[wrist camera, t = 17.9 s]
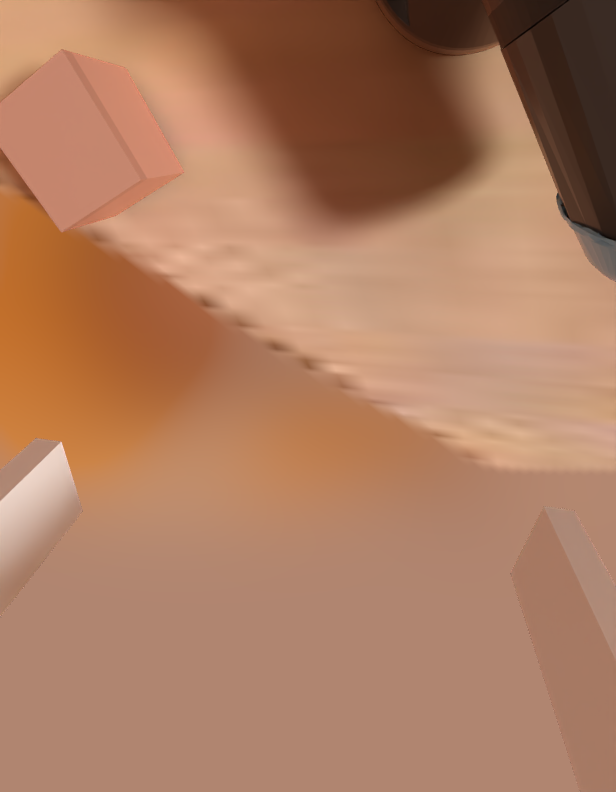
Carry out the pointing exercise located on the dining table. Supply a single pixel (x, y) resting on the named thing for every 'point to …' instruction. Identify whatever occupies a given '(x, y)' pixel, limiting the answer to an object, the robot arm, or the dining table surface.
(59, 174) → the terracotta cube
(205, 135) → the dining table surface
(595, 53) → the robot arm
